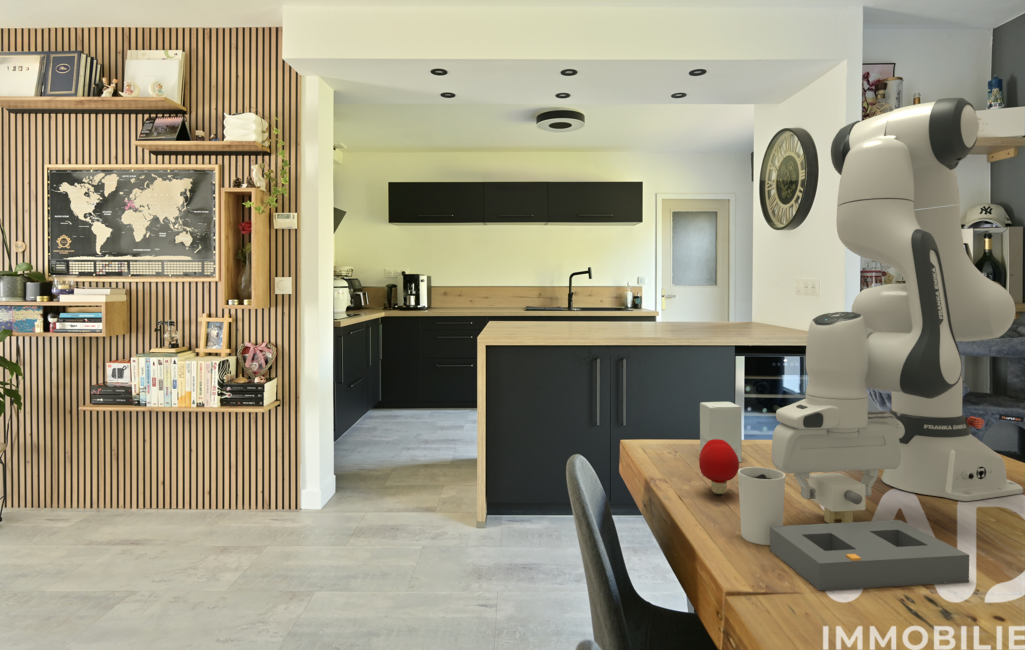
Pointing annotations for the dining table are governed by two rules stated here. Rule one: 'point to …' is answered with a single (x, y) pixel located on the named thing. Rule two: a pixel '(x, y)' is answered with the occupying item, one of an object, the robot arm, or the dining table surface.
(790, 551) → the double socket
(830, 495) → the plug
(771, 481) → the beige cup
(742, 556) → the dining table surface
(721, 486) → the red rounded egg-shaped part
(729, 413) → the supplement box
